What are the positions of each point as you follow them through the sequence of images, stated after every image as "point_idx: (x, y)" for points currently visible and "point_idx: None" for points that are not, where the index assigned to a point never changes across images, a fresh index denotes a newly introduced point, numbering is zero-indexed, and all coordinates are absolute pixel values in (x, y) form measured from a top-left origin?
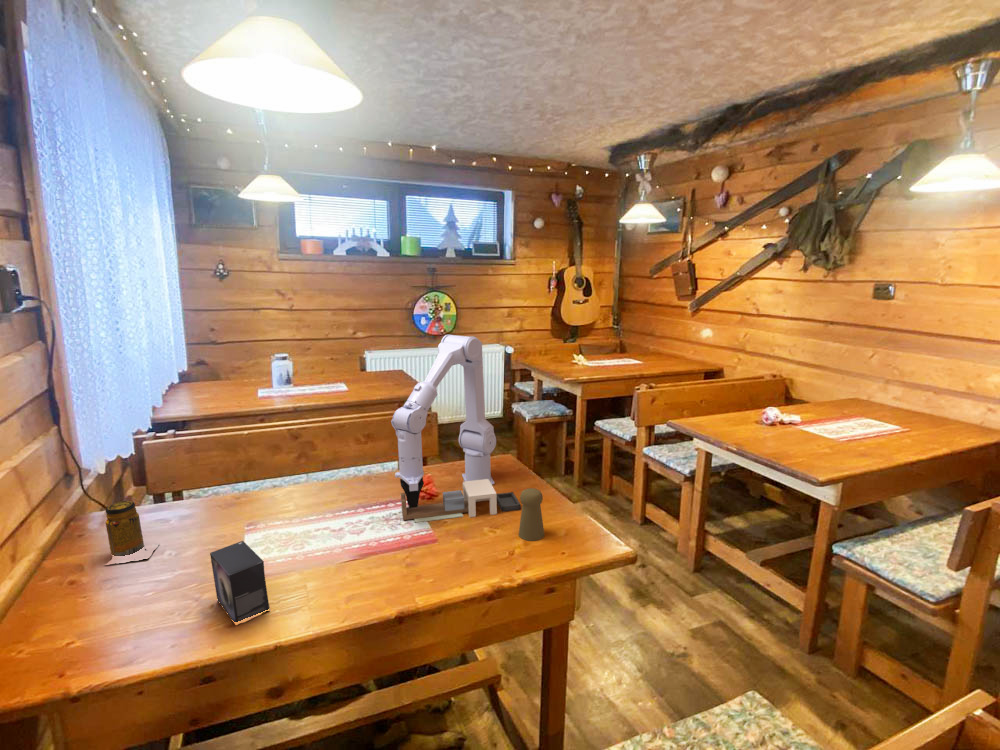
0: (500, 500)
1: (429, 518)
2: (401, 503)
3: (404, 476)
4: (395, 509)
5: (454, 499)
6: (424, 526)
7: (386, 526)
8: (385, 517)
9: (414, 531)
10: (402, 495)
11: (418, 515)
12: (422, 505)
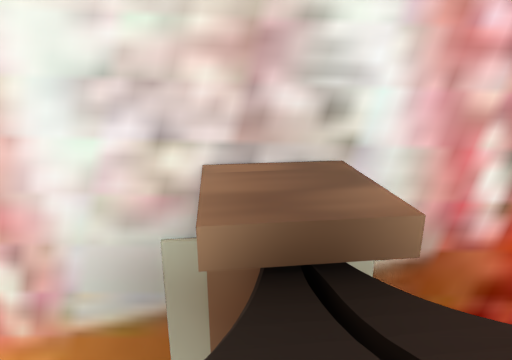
0: None
1: (192, 327)
2: (368, 178)
3: None
4: (404, 113)
5: None
6: (96, 295)
7: (140, 33)
8: (298, 31)
9: (29, 234)
10: (356, 232)
11: (207, 278)
12: None
